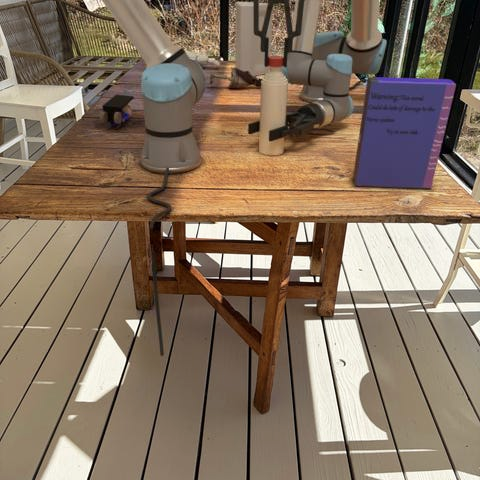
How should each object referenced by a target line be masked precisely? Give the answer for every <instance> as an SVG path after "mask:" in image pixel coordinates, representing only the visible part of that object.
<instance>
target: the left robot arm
mask: <svg viewBox="0 0 480 480" xmlns="http://www.w3.org/2000/svg"><path fill="white" fill-rule="evenodd" d="M101 1H102V3H103V4H104V6H105V7H106V9H107V10H108V11H109V13H110V14H111V16H112V17H113V19H114V20H115V22H116V23H117V24H118V26H119V27H120V28H121V30H122V31H123V33H124V34H125V35H126V37H127V38H128V40H129V42H130V43H131V45H132V46H133V47H134V48H135V50H136V52H138V54H139V55H140V57H141V58H142V60H143V61H144V63H145V64H146V67H145V68H146V69H145V70H143V72H142V74H141V77H140V78H141V79H140V80H141V83H140V91H141V95H142V97H141V98H142V106H143V115H144V125H145V138H144V142H143V146H142V150H141V154H140V162H141V166H142V168H144V169H145V170H146V171H149V172H151V173H156V174H163V175H164V176H163V184H162V185H161V187H159V188H157V189H154V190H152V191H150V192H149V193H148V194H147V199H148V201H150V202H152V203H155V204H159V205H161V206H164V207H166V208H167V209H164V210H161V211H160V212H158V213H156V214H155V215H154V216H153V217H152V218H151V220H150V222H149V229H154V225H155V223H156V221H157V220H158V219H159V218H160V217H161V216H163V215H166V214H169V213H170V212H171V211H172V206H171V204H170V203H168V202H166V201H163V200H159V199H155V198H153V197H152V196H153V195H155V194H158V193H160V192H162V191H164V190H165V189H166V186H167V183H168V177H169V176H168V175H169V174H170V175H172V174H173V175H175V174H182V173H187V172H190V171H193V170H195V169H197V168H198V167H199V166H201V163H202V155H201V151H200V149H199V146H198V143H197V141H196V137H195V135H194V130H193V129H194V126H193V108H194V106H195V105H196V104H197V103H199V102H200V100H202V98H203V96H204V94H205V90H206V87H207V78H206V73H205V70H204V68H202V67H201V66H200V65H199V64H198V63H197V62H196V61H194V60H192V59H190V58H189V56H188V55H187V53H186V50H185V49H184V48H183V46H181V45H176V44H175V43H174V42H173V41H172V40H171V39H170V37H169V36H168V34H167V33H166V31H165V30H164V28H163V27H162V25H161V23H160V22H159V20H158V19H157V18H156V17H155V15H154V13H153V12H152V10H151V9H150V7H149V6H148V4H147V3H146V1H145V0H101ZM252 1H253V20H254V35H257V36H259V37H260V38H261V44H260V50H261V52H265V58H264V66H265V67H268V48H269V38H268V37H266V34H267V30H268V26H269V21H270V17H271V13H272V14H273V12H272V9H273V8H274V5H278V4H280V5H283V11H284V19H285V25H286V33H287V34H286V35H287V37H284V39H283V40H284V41H283V55H282V57H284V67H287V56H288V52H292V47H293V38H294V37H296V36H300V35H301V28H302V19H303V9H304V1H305V0H298V7H297V17H296V27H295V31H293V29H292V22H293V20H292V14H291V5H290V1H291V0H267V3H268V4H267V9H266V13H265V18H264V22H263V26H262V31H260V30H259V3H260V2H259V0H252ZM273 10H274V9H273ZM150 255H151V269H152V285H153V295H154V296H153V297H154V306H155V313H156V314H155V316H156V324H157V325H156V326H157V332H158V333H157V334H158V343H159V353H160V356H161V357H163V356H164V355H165V352H164V342H163V332H162V331H163V330H162V321H161V311H160V303H159V302H160V301H159V290H158V289H159V288H158V278H157V263H156V261H157V260H156V250H150Z"/></svg>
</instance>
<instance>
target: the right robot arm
mask: <svg viewBox="0 0 480 480" xmlns="http://www.w3.org/2000/svg"><path fill="white" fill-rule="evenodd" d="M322 3H323V0H305V1H304V9H303V19H302V28H301V35H300V36H296V37H294V38H293V47H292V52H288V56H287V67H284V66H282V67H281V71H282V73H283V74H284V76H286V78H287V81H288V85H289V84H290V85H298V86H302V88H301V90H300V96H299V98H300V99H301V100H302V101H303V102H304V101H305V102H306V104H303V105H301V106H299V108H298V109H297V111H293V112H289V113H286V124H285V126H283V127H280V128H276V129H273V130H270V131H269V141H274V140H277V139H280V138H283V137H285V138H286V137H293V136H294V138H298V139H299V138H301V137H303V136H305V135H307V134H310V133H312V132H316V131H319V130H320V129H321V128H323V127H325V126H328V125H331V124H334V123H339V122H342V121H344V120H346V119H348V118H349V117H351V115H352V114H353V112H354V110H355V108H354V107H355V104H354V101H353V98H352V97H351V96H350V90H354V89H356V87H357V86H358V85H359V84H361V83H363V84H367V80H366V79H364V78H362V79H360V80H358V81H357V82H355V83H354V84H353V85H352V86H351V80H352V75H353V74H358V75H365V76H366V75H372V76H373V75H376V74H378V73H379V71H380V69H381V66H382V63H383V60H384V56H385V51H386V49H387V43H388V42H387V41H388V40H387V39H385V38H383V36H382V31H380V30H379V29H378V27H379V26H378V25H379V12H380V0H350V31H349V32H348V33H347V35H346V36H345V33H344V31H339V30H333V31H325V32H319V33H318V32H317V31H318V26H319V20H320V13H321V7H322ZM297 7H298V0H295V4H294V10H293V16H292V29H293V31H295V27H296V17H297ZM307 102H308V103H307ZM259 128H260V120H256V121H254V122H250V123H248V125H247V134H248V135H252V134H256V133H259Z"/></svg>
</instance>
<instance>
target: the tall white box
mask: <svg viewBox="0 0 480 480" xmlns="http://www.w3.org/2000/svg"><path fill="white" fill-rule="evenodd" d="M267 4H268V2H267V3H266V2H265V3H264V2H259V30H260V31H262V26H263V22H264V18H265V13H266V9H267ZM273 10H274V9H272V13H271V17H270V21H269V26H268V30H267V34H266V37H268V38H269V48H268V57H269V56H272V55H271V54H272V33H273V32H272V31H273ZM260 44H261V38H260V37H259V36H257V35H254V20H253V2H252V1H235V59H234V60H235V62H234V63H235V65H234V66H235V67H234V68H237V69H240V70H242V71H244V72H245V71H249V72H250V73H251V75H252V76H256V77H257V76H259V75H260V76H261V75H266V73H268V71H269V70H270V66H268V67H265V66H264V58H265V52H261V50H260Z"/></svg>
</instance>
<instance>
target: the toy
mask: <svg viewBox="0 0 480 480" xmlns="http://www.w3.org/2000/svg"><path fill="white" fill-rule="evenodd" d="M185 52H186V53H187V55H188V56H189V58H190V59H192V60H194V61H196V62H197V63H198V64H199V65H200V66H201V67H202V69H204V68H203V67H204V66H207V65H209V64H214V65H215V67H216V66H217V67H218V68H219V67H220V66H221V63H220V62H219V60H216V59H215V58H209V56H208V55H207V54H204V53H203V52H202V51H199V52H198V53H195V52H192V51H189V50H185Z"/></svg>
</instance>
